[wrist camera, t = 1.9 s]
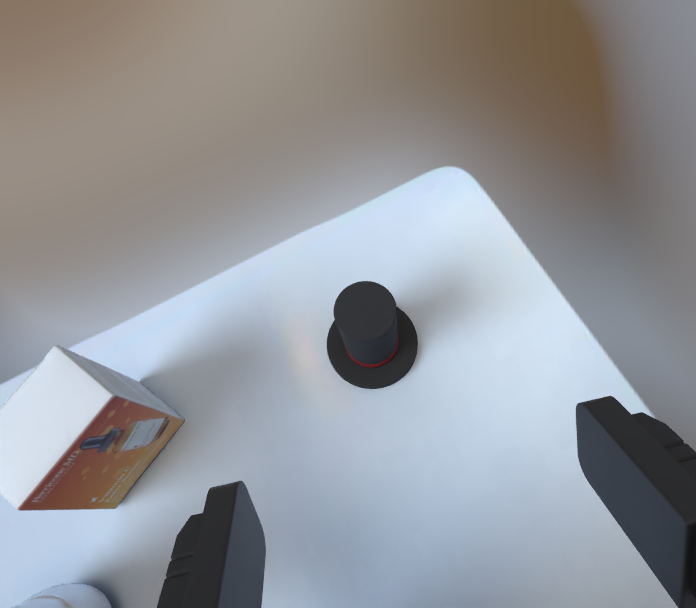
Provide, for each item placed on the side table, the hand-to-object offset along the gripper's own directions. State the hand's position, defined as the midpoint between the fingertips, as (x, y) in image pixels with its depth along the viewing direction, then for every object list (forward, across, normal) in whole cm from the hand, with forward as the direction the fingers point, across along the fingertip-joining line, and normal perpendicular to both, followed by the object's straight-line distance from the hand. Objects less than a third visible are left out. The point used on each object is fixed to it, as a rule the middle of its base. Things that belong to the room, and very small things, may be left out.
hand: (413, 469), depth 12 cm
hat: (+26, 0, +10) cm, 28 cm away
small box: (+24, +20, +13) cm, 33 cm away
